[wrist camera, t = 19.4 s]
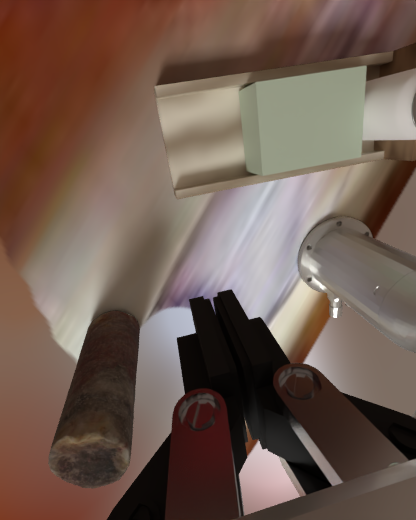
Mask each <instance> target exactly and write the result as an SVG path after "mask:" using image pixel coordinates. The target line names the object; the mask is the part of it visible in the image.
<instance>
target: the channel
mask: <svg viewBox="0 0 416 520" xmlns="http://www.w3.org/2000/svg"><path fill="white" fill-rule="evenodd" d="M366 65H367V69H366V81H370V80H374V79H377V78H381V77H385V76H388V75H392V74H396V73H399V72H403V71H407V70H411V69H414V68H416V43H414V44H411V45H409V46H406V47H403V48H401V49H398V50H395V51H391V52H384V53H377V54H370V55H363V56H357V57H350V58H343V59H336V60H329V61H323V62H316V63H309V64H302V65H295V66H289V67H282V68H275V69H268V70H261V71H254V72H248V73H241V74H234V75H227V76H220V77H214V78H207V79H200V80H193V81H186V82H179V83H173V84H166V85H159V86H155V87H154V93H155V98H156V103H157V108H158V113H159V118H160V123H161V128H162V133H163V138H164V143H165V148H166V153H167V158H168V163H169V168H170V173H171V178H172V183H173V188H174V193H175V196H176V198H177V199H181V198H186V197H191V196H196V195H201V194H206V193H211V192H217V191H222V190H227V189H232V188H237V187H242V186H247V185H253V184H258V183H263V182H268V181H273V180H278V179H283V178H288V177H294V176H299V175H304V174H309V173H314V172H319V171H324V170H330V169H335V168H340V167H345V166H350V165H355V164H360V163H365V162H371V161H376V160H381V159H391V160H405V161H415V160H416V140H362V152H361V157H359V158H354V159H349V160H344V161H338V162H333V163H328V164H323V165H318V166H312V167H307V168H302V169H297V170H292V171H286V172H281V173H276V174H271V175H265V176H261V175H257V174H254V173H251V172H247V171H246V164H245V153H244V143H243V133H242V122H241V112H240V101H239V91H241V90H242V89H244V88H246V87H248V86H250V85H251V84H253V83H255V82H260V81H267V80H274V79H280V78H287V77H293V76H300V75H307V74H313V73H320V72H326V71H333V70H340V69H346V68H353V67H359V66H366Z"/></svg>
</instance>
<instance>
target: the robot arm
mask: <svg viewBox="0 0 416 520" xmlns="http://www.w3.org/2000/svg"><path fill="white" fill-rule="evenodd" d="M298 271H299V273H300V276H301V278H302V279H303V281H304V282H305V283H306V284H307V285H308V286H309V287H311V288H312V289H314V290H316V291H319V292H324V293H327V294H328V299H329V300H330V304H329V315H330V316H332V317H340V316H342V301H343V302H344V303H345V305H346V306H349V307H351V308H352V309H353V310H354V311H356V312H357V313H358V314H359V315H360V316H362V317H363V318H364V319H365V320H367V321H368V322H369V323H370V324H371V325H373V326H374V327H375V328H376V329H378V330H379V331H380V332H381V333H383V334H384V335H385V336H386V337H388V338H389V339H390V340H391V341H392V342H394V343H395V344H397V345H398V346H400V347H402V348H404V349H406V350H408V351H411V352H414V353H416V256H414V255H411V254H409V253H407V252H404V251H402V250H399V249H397V248H395V247H392V246H390V245H388V244H386V243H383V242H381V241H379V240H376V239H374V238H373V236H372V234H371V231H370V229H369V228H368V227H367V226H366V225H365V224H364V223H363V222H361V221H359V220H357V219H354V218H351V217H342V216H341V217H335V218H331V219H329V220H326V221H324V222H323V223H321V224H319V225H318V226H317V227H316V228H314V229H313V230H312V231H311V232H310V233H309V235H308V236H307V237H306V239H305V240H304V242H303V244H302V246H301V248H300V251H299V255H298ZM217 294H218V296H217V297H213V301H214V307H215V312H214V309H213V307H212V304H211V302H210V299H205V300H204V298H203V296H201V297H197V298H193V299H189V302H190V306H191V311H192V316H193V321H194V325H195V329H196V333H194V334H190V335H187V336H183V337H179V338H177V343H178V350H179V357H180V363H181V370H182V377H183V383H184V390H185V395H184V396H183V397H182V398H181V399H180V400H178V402H177V404H176V406H175V408H174V411H173V417H172V431H171V433H170V434H169V436H168V437H167V438H166V440H165V441H164V442H163V444H162V445H161V446H160V448H159V449H158V450H157V452H156V453H155V454H154V456H153V457H152V458H151V460H150V461H149V462H148V464H147V465H146V466H145V468H144V469H143V470H142V472H141V473H140V474H139V476H138V477H137V478H136V480H135V481H134V482H133V483H132V485H131V486H130V488H129V489H128V490H127V491H126V493H125V494H124V495H123V497H122V498H121V499H120V501H119V502H118V504H117V505H116V506H115V507H114V509H113V510H112V512H111V514H110V515H109V517H108V519H107V520H416V411H415V412H414V414H413V415H412V417H411V416H409V415H406V414H403V413H400V412H397V411H394V410H391V409H388V408H385V407H383V406H380V405H377V404H374V403H371V402H368V401H365V400H362V399H359V398H356V397H353V396H350V395H348V394H345V393H342V392H340V391H339V390H338V389H337V388H336V387H335V386H334V385H333V384H332V383H331V382H330V381H329V380H328V379H327V378H326V377H325V376H324V375H323V374H322V373H321V372H320V371H319V370H317V369H316V368H314V367H312V366H310V365H307V364H303V363H290V361H289V360H288V358H287V357H286V355H285V354H284V352H283V350H282V349H281V347H280V346H279V344H278V343H277V341H276V340H275V338H274V337H273V335H272V333H271V332H270V330H269V329H268V327H267V326H266V324H265V323H264V321H263V320H262V318H260V317H258V318H254V319H250V320H249V319H248V317H247V315H246V314H245V312H244V310H243V308H242V307H241V305H240V303H239V301H238V300H237V298H236V296H235V294H234V293H233V291H232V290H227V291H222V292H218V293H217ZM215 313H216V315H215ZM244 417H245V418H244ZM245 420H246V423H247V426H248V429H249V432H250V434H251V437H252V439H253V440H255V439H259V441H260V444H261V446H262V449H266V448H267V449H268V451H270V452H272V453H273V454H275V455H277V456H279V457H280V461H281V463H282V466H283V467H284V469H285V471H286V473H287V474H288V476H289V478H290V479H291V481H292V483H293V484H294V486H295V488H296V490H297V491H298V493H299V495H300V497H299V498H296V499H293V500H290V501H287V502H284V503H281V504H278V505H275V506H272V507H269V508H266V509H263V510H260V511H257V512H254V513H251V514H248V515H245V516H244V509H243V501H242V493H241V486H240V479H239V473H240V471H241V469H242V467H243V465H244V463H245V461H246V459H247V453H246V446H245V442H248V438H247V432H246V425H245Z"/></svg>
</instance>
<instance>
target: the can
mask: <svg viewBox="0 0 416 520" xmlns="http://www.w3.org/2000/svg"><path fill="white" fill-rule="evenodd" d="M362 140H416V68H414V69H411V70H407V71H403V72H399V73H396V74H392V75H388V76H385V77H381V78H377V79H374V80H370V81H366V85H365V102H364V118H363V135H362Z"/></svg>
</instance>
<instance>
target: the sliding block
mask: <svg viewBox="0 0 416 520" xmlns="http://www.w3.org/2000/svg"><path fill="white" fill-rule="evenodd" d="M366 69H367V65H366V66H359V67H353V68H346V69H340V70H333V71H326V72H320V73H313V74H307V75H300V76H293V77H287V78H280V79H274V80H267V81H260V82H255V83H253V84H251V85H250V86H248V87H246V88H244V89H242V90H241V91H239V101H240V112H241V122H242V133H243V143H244V153H245V164H246V171H247V172H251V173H254V174H257V175H261V176H265V175H271V174H276V173H281V172H286V171H292V170H297V169H302V168H307V167H312V166H318V165H323V164H328V163H333V162H338V161H344V160H349V159H354V158H359V157H361V152H362V135H363V118H364V102H365V85H366Z"/></svg>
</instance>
